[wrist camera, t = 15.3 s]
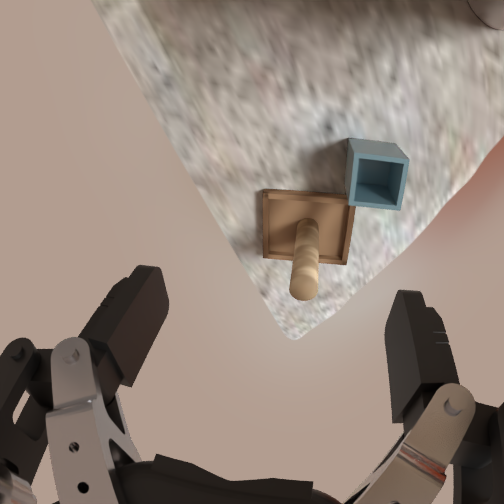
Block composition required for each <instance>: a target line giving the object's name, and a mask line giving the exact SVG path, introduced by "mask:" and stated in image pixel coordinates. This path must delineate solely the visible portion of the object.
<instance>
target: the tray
mask: <svg viewBox="0 0 504 504" xmlns="http://www.w3.org/2000/svg"><path fill="white" fill-rule="evenodd" d="M355 208H356V206H351V205H348V200H347V195H344V194H333V193H321V192H308V191H294V190H279V189H264V191H263V258H268V259H279V260H291V261H293V257H294V249H295V241H296V233H297V225H298V223H299V221H300V220H302V219H304V218H312V219H314V220H315V221H316V222H317V223H318V225H319V262H318V263H327V264H338V265H346V264H347V259H348V253H349V247H350V241H351V235H352V228H353V222H354V215H355Z"/></svg>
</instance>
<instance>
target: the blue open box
mask: <svg viewBox="0 0 504 504" xmlns="http://www.w3.org/2000/svg"><path fill="white" fill-rule="evenodd" d="M408 166H409V158H408V157H407V156H406V155H405V154H404V153H403V151H402V150H401V149H400V148H399V147H398V146H397V144H395V143H388V142H381V141H373V140H364V139H355V138H348V147H347V159H346V170H345V180H344V185H345V190H346V195H347V200H348V205H351V206H361V207H371V208H380V209H390V210H399V211H400V209H401V204H402V199H403V194H404V189H405V183H406V178H407V172H408Z"/></svg>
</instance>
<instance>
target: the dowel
mask: <svg viewBox="0 0 504 504" xmlns="http://www.w3.org/2000/svg"><path fill="white" fill-rule="evenodd" d="M318 262H319V225H318V223H317V222H316V221H315V220H314V219H312V218H304V219H302V220H300V221H299V223H298V225H297V233H296V241H295V249H294V257H293V265H292V273H291V280H290V288H289V291H290V294H291V295H292V296H293V297H294V298H295V299H297V300H301V301H307V300H311V299H313V298H314V297H315V296H316V295H317V292H318Z"/></svg>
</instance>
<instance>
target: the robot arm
mask: <svg viewBox="0 0 504 504" xmlns="http://www.w3.org/2000/svg"><path fill="white" fill-rule="evenodd" d="M468 3H469V5H470V7H471V8H472V10H473V11H474V13H475V14H476V15H477V16H478V17H479V18H480V19H481V20H482V21H483V22H484V23H485V24H487V25H488V26H490V27H492V28H495V29H498V30H504V0H468ZM168 310H169V299H168V295H167V291H166V287H165V283H164V279H163V275H162V271H161V269H160V268H159V267H154V266H145V265H138V266H137V267H136V268H135V269H134V271H133V272H132V274H131V275H130V276H129V278H127V277H125V278H123V279H122V280H121V281H119V282H118V283H117V284H115V285H114V286H113V287H112V289H111V290H110V291H109V293H108V294H107V296H106V298H104V300H103V302H102V303H101V305H100V306H99V307H98V308H97V310H96V311H95V313H94V314H93V315H92V317H91V318H90V320H89V322H88V323H87V324H86V326H85V327H84V329H83V330H82V332H81V333H80V335H79V336H78V337H71V338H67V339H65V340H63V341H61V342H60V343H59V344H57V346H56V347H55V348H54V349H36V348H35V346H34V345H33V343H32V342H31V341H30V340H29V339H27V338H18V339H16V340H14V341H12V342H11V343H10V344H9V345H8V346H7V347H6V348H5V350H4V351H3V353H2V354H1V356H0V504H37V499H36V497H35V495H33V494H32V489H31V484H32V482H33V479H34V476H35V474H36V472H37V469H38V466H39V464H40V462H41V459H42V457H43V454H44V452H45V450H46V447H47V445H48V444H49V451H50V457H51V463H52V469H53V474H54V479H55V484H56V489H57V493H58V498H59V501H57V502H55V503H53V504H431V503H432V502H433V500H434V499H435V497H436V496H437V494H438V493H439V491H440V490H441V488H442V486H443V485H444V482H445V480H446V475H445V474H444V473H445V470H446V468H447V466H448V464H453V470H454V497H453V504H504V402H503V404H502V405H501V406H500V407H499V408H497V407H493V406H489V405H485V404H481V403H478V402H475V400H474V398H473V396H472V394H471V393H470V391H469V390H468V389H466V388H465V387H463V386H462V385H460V383H459V379H458V375H457V370H456V366H455V363H454V359H453V355H452V351H451V348H450V345H449V344H448V343H449V341H448V337H447V334H446V330H445V327H444V324H443V321H442V318H441V317H440V316H439V315H438V313H437V312H436V311H435V309H434V308H433V307H426V305H425V302H424V298H423V295H422V293H421V292H420V291H411V290H398V292H397V294H396V297H395V300H394V302H393V305H392V308H391V311H390V314H389V317H388V320H387V322H386V327H385V346H386V354H387V363H388V373H389V383H390V393H391V408H392V423H403V425H404V432H403V433H402V434H401V436H400V437H399V438H398V440H397V441H396V443H395V444H394V445H393V446H392V448H391V449H390V450H389V452H388V453H387V454H386V456H385V457H384V458H383V460H382V461H381V462H380V463H379V464H378V465H377V467H376V468H375V469H374V470H373V472H372V473H371V474H370V475H369V476H368V477H367V478H366V479H365V481H364V482H362V483H361V485H360V486H359V487H358V488H357V489H356V490H355V491H354V492H353V493H352V494H351V495H350V496H349V497H348V498H347V499H346V500H345V502H343V503H340V502H339V501H338V500H336V499H335V498H333V497H331V496H330V495H328V494H326V493H323V492H321V491H318V490H315V489H312V488H313V482H312V481H297V480H286V479H277V478H269V479H257V480H244V481H229V480H226V479H223V478H221V477H219V476H217V475H215V474H213V473H210V472H208V471H206V470H204V469H202V468H200V467H198V466H196V465H194V464H192V463H188V462H184V461H181V460H177V459H173V458H170V457H166V456H162V455H159V454H156V456H155V459H154V461H142V460H141V458H140V455H139V453H138V452H137V449H136V447H135V446H134V444H133V442H132V440H131V437H130V434H129V432H128V428H127V424H126V421H125V418H124V414H123V411H122V407H121V403H120V399H119V395H118V393H117V389H118V387H119V385H120V384H122V385H125V386H128V387H132V385H133V383H134V381H135V379H136V377H137V375H138V373H139V371H140V369H141V367H142V365H143V363H144V361H145V358H146V356H147V354H148V352H149V350H150V348H151V346H152V344H153V342H154V340H155V338H156V336H157V334H158V332H159V330H160V328H161V326H162V324H163V322H164V320H165V319H166V316H167V314H168ZM25 390H26V391H27V392H28V394H29V395H30V396H29V398H28V400H27V402H26V404H25V406H24V408H23V410H22V412H21V414H20V416H19V418H18V420H17V422H16V424H14V423H13V418H12V417H13V412H14V410H15V408H16V406H17V404H18V402H19V400H20V398H21V397H22V395H23V393H24V391H25Z"/></svg>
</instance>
